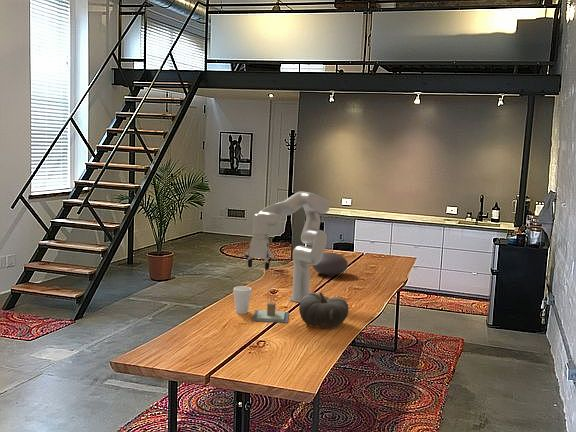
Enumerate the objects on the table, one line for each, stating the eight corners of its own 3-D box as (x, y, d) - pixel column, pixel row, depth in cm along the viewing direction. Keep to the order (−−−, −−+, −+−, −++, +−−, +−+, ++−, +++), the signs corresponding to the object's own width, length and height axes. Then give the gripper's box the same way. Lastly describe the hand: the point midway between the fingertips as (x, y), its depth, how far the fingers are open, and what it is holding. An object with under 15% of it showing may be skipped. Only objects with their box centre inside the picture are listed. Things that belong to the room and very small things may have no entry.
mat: (288, 312, 340) (288, 312, 340) (287, 323, 322) (287, 322, 322) (255, 311, 340) (255, 310, 340) (252, 321, 323) (252, 320, 322)
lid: (284, 312, 338) (285, 300, 337) (283, 320, 324) (284, 307, 323) (258, 311, 338) (259, 299, 337) (256, 319, 324) (257, 306, 324)
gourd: (297, 310, 336) (304, 280, 332) (343, 320, 336) (350, 290, 332) (295, 329, 312) (302, 297, 307) (344, 340, 311) (352, 308, 307)
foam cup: (253, 311, 340) (254, 287, 339) (246, 315, 332) (247, 291, 330) (237, 308, 343) (237, 285, 342) (229, 313, 335) (230, 289, 333)
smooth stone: (353, 274, 439) (354, 253, 437) (336, 280, 418) (337, 258, 416) (322, 269, 452) (323, 248, 450) (304, 274, 431) (305, 253, 429)
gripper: (277, 237, 336) (276, 269, 338) (248, 234, 342) (246, 265, 344) (272, 239, 329) (270, 271, 331) (242, 236, 335) (240, 267, 337)
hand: (258, 268), depth 338 cm, fingers open, 9 cm apart
